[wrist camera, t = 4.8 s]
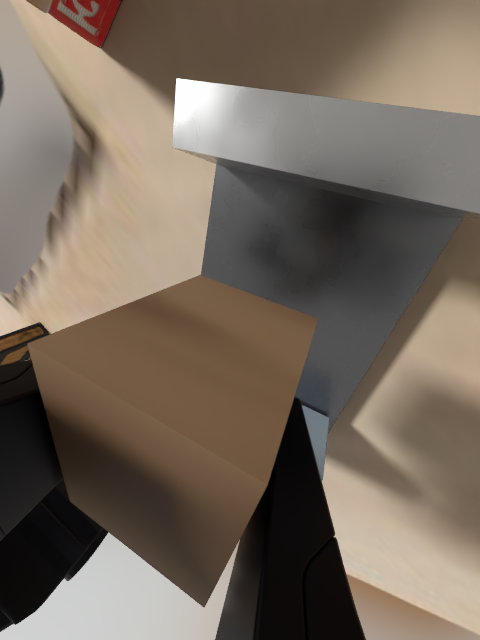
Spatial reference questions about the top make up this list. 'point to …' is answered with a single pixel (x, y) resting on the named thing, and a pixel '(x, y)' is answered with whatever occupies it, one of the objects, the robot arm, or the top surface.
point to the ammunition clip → (19, 343)
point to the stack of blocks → (82, 16)
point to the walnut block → (174, 418)
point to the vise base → (329, 211)
